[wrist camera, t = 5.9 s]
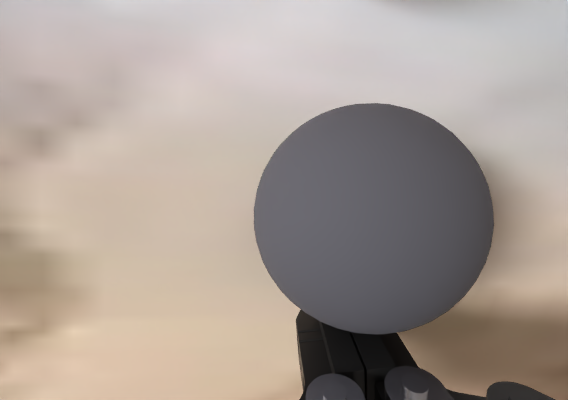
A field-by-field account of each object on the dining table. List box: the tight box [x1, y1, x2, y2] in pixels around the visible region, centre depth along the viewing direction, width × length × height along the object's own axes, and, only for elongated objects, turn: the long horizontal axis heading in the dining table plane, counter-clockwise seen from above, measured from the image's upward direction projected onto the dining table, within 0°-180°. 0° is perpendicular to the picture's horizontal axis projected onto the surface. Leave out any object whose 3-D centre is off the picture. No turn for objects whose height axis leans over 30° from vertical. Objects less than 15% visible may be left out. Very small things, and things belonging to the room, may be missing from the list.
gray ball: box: [254, 103, 494, 334], centre depth 8 cm, size 6×6×6 cm
